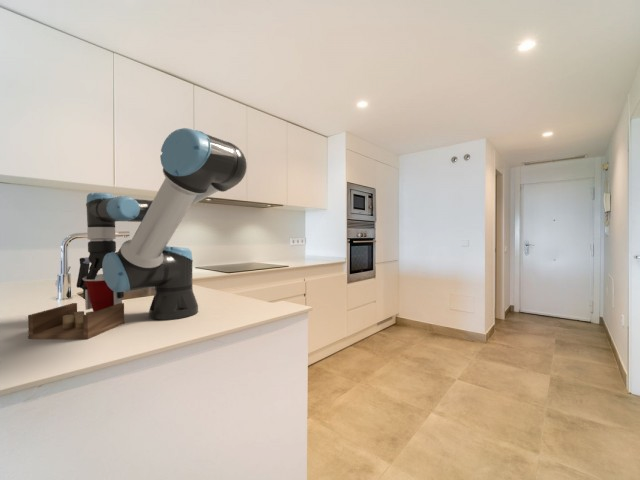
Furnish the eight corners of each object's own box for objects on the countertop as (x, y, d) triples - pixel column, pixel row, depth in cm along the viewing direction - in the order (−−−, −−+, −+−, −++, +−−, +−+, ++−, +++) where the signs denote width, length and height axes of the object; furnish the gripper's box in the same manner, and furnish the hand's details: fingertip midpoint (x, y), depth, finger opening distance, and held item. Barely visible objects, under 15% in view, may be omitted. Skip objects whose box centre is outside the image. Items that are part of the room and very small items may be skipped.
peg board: (124, 323, 93) (124, 303, 92) (88, 339, 79) (87, 315, 78) (73, 322, 93) (73, 303, 93) (28, 338, 79) (28, 315, 79)
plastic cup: (77, 317, 93) (76, 278, 92) (90, 309, 103) (89, 274, 103) (119, 313, 97) (118, 275, 96) (127, 306, 107) (126, 272, 106)
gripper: (141, 239, 103) (142, 305, 103) (79, 241, 103) (81, 306, 104) (126, 239, 95) (128, 310, 96) (60, 241, 96) (62, 311, 96)
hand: (104, 308), depth 100 cm, fingers closed on plastic cup, 9 cm apart
